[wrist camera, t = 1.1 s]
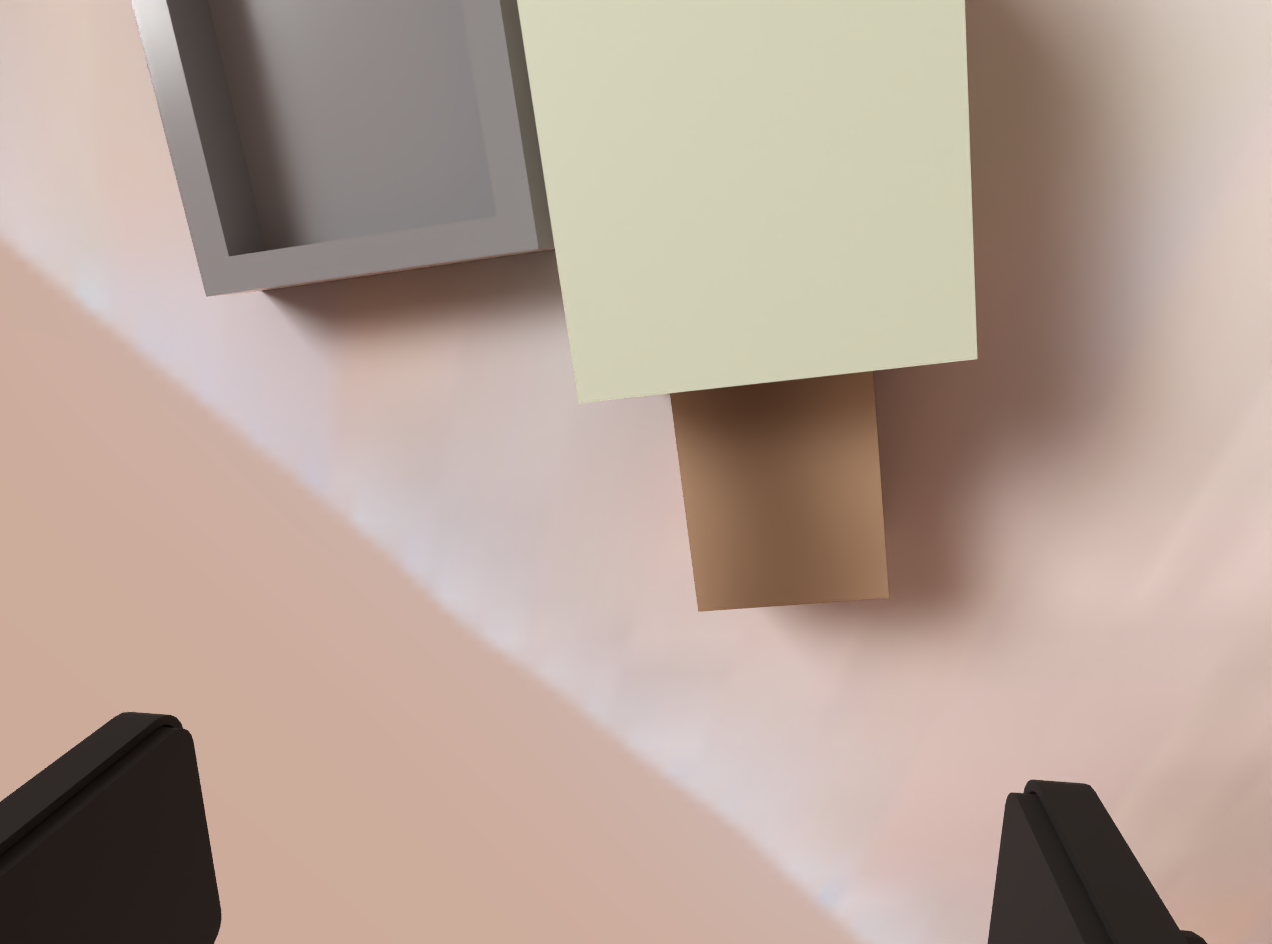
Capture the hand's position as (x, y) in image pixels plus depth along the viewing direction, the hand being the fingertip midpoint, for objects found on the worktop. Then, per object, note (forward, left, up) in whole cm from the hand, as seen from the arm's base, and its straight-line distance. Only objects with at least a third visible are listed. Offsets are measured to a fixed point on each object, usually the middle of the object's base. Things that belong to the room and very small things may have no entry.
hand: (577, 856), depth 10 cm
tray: (+8, -14, -18) cm, 25 cm away
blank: (-3, -2, -18) cm, 18 cm away
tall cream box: (-3, -9, -18) cm, 20 cm away
